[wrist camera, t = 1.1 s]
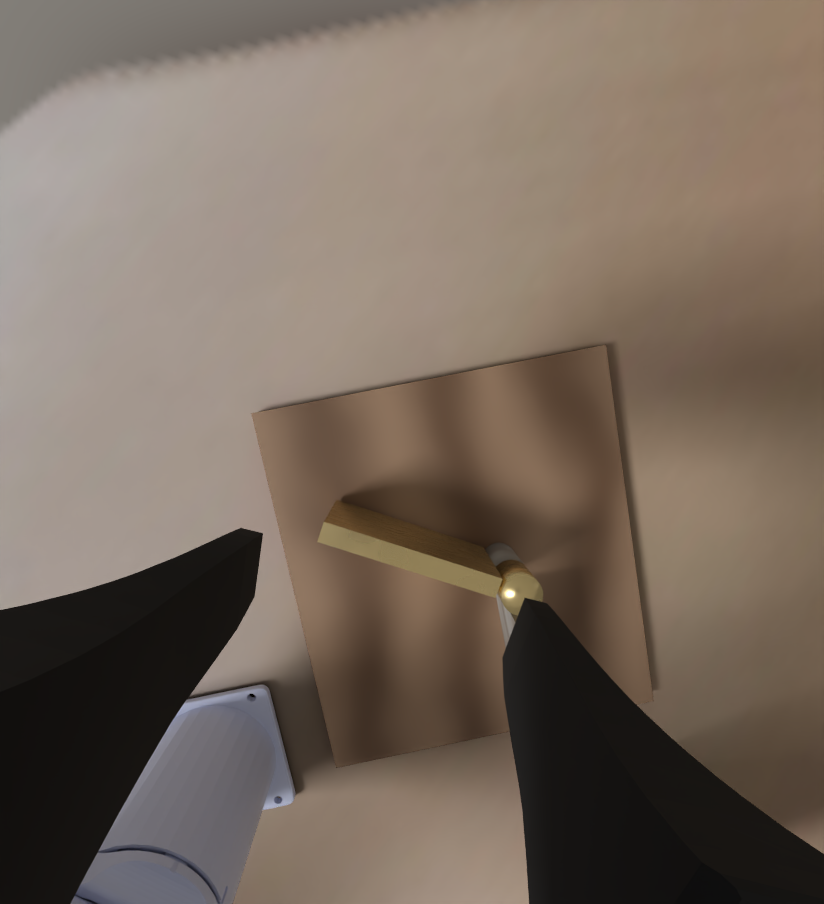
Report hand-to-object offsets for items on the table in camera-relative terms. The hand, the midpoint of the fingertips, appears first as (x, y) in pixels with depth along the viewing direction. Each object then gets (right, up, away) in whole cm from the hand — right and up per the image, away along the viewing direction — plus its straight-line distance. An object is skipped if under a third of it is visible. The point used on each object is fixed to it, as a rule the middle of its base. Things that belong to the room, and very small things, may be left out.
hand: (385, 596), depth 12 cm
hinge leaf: (+1, -1, +13) cm, 13 cm away
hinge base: (+4, -3, +15) cm, 15 cm away
